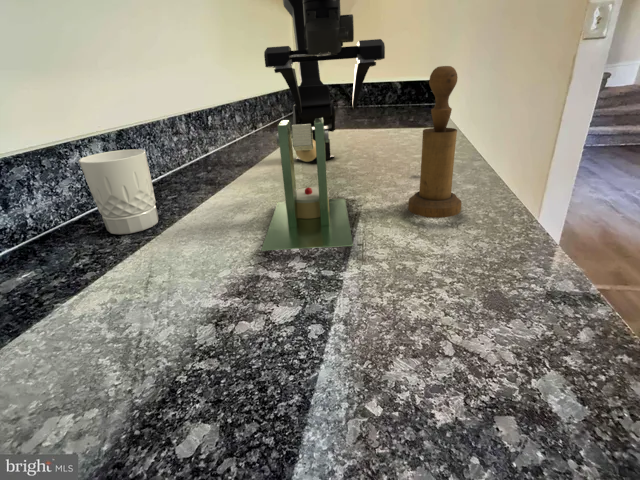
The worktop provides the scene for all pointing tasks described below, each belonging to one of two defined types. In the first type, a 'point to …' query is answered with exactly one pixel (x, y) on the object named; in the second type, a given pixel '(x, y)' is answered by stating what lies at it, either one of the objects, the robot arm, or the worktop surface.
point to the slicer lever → (304, 142)
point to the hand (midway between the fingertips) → (327, 111)
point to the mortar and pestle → (438, 153)
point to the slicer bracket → (285, 221)
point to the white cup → (122, 189)
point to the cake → (308, 203)
